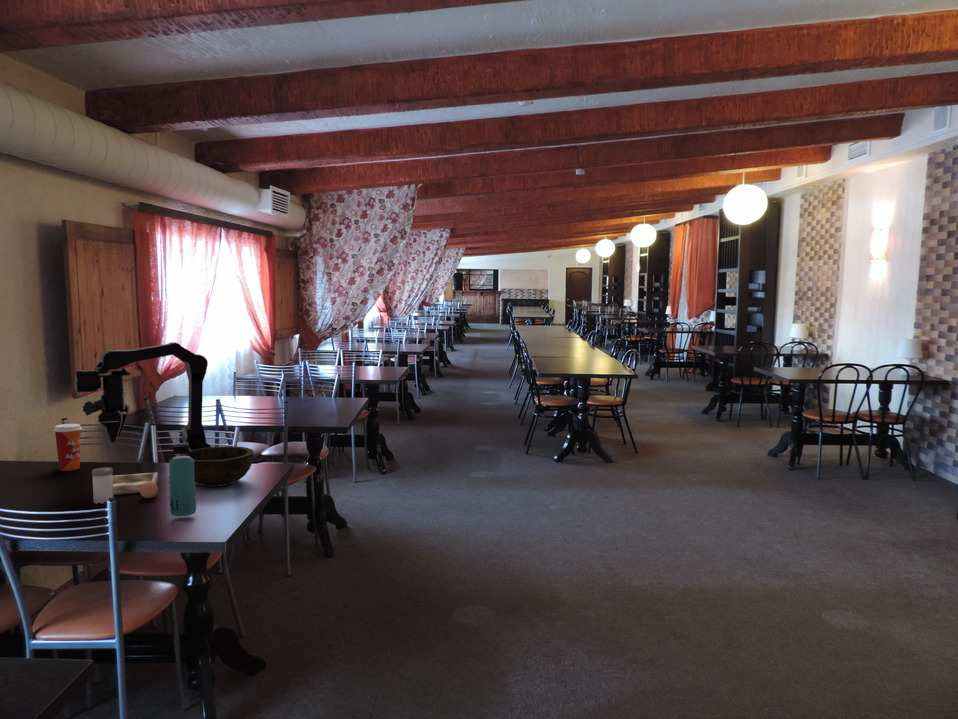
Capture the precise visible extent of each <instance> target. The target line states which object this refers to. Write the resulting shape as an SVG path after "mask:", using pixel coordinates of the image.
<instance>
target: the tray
mask: <svg viewBox="0 0 958 719" xmlns="http://www.w3.org/2000/svg"><path fill="white" fill-rule="evenodd" d="M158 474H159V473H158V472H145V473H133V474H120V475H119V474H117V475H112V478H113V496H115V495H116V496H117V495H126V494H127V495H128V494H138V493H140V487H141V486H142V484H144V483H145V482H154V483H155V484H156V485H157V484H158V481H159V475H158ZM157 486H158V485H157Z"/></svg>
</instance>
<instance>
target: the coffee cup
mask: <svg viewBox="0 0 958 719" xmlns="http://www.w3.org/2000/svg"><path fill="white" fill-rule="evenodd" d="M82 429H83V428H82V426H81V424H80V423H66V424H65V423H63V424H57V425H55V427H54V430H53V432H54V434H55V443H56V453H57V461H58V462H57V463H58V469H59V471H61V472H62V471H63V472H68V471H69V472H71V471H75V470H79V469H80V466H81V440H82V439H81V438H82V437H81V436H82V435H81V434H82V433H81V432H82V431H81V430H82Z"/></svg>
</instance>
